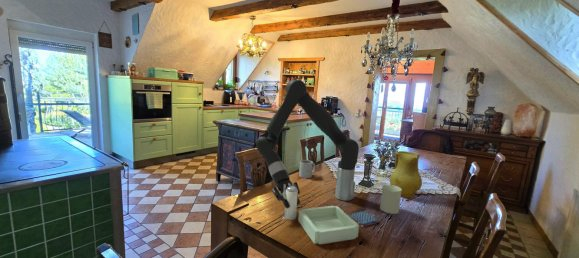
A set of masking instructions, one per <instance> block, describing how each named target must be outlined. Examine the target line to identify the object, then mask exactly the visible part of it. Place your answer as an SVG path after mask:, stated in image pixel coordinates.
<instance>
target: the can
mask: <svg viewBox="0 0 579 258" xmlns="http://www.w3.org/2000/svg"><path fill="white" fill-rule="evenodd" d="M381 188H382V189H381V198H380V206H379V209H380V210H381V211H382V212H385V213H387V214H392V215H393V214H394V215H395V214H399V212H400V203H401V198H402V196H401V191H402V189H401V188H399V187H397V186H394V185H390V184H383V185H382V186H381Z"/></svg>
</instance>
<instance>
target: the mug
mask: <svg viewBox="0 0 579 258" xmlns="http://www.w3.org/2000/svg"><path fill="white" fill-rule="evenodd" d="M298 170H299V174H298V176H299V177H300V178H302V179H311V178H312V177H313V174H314V173H315V171H316V164H315V163H314V162H313V161H312V160H309V159H301V160H300V161H299V169H298Z"/></svg>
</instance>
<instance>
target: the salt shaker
mask: <svg viewBox="0 0 579 258" xmlns="http://www.w3.org/2000/svg"><path fill="white" fill-rule="evenodd" d="M297 195H298V196H299V194H298V190H297V187H295V186H288V187H287V189H286V199H287V200H288V203H289V205H290V207H289V208H286V207H285V206H284V213H283V214H284V216H283V217H284V218H285V219H286V220H288V221H293V220H296V219H297V209H298V205H297Z"/></svg>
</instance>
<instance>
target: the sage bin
mask: <svg viewBox="0 0 579 258" xmlns="http://www.w3.org/2000/svg"><path fill="white" fill-rule="evenodd" d="M298 223H299V224H300V226H301V227H302V228H303V230H304V231H305V233H306V234H307V236H308V237H309V238H310V239H311V241H312V243H313V244H316V245H317V244H318V245H324V244H326V245H327V244H331V243H337V242H344V241H350V240H356V238H358V237H359V228H360V226H359V225H360V224H357V223H356V222H354V221H353V220H352V219H351V218H350V217H349V216H348V214H347V213H346V212H345V211H343V209H341V208H340V207H339V206H337V205H336V206H335V205H328V206H318V207H311V208H310V207H309V208H301V209H300V210H298Z"/></svg>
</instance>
